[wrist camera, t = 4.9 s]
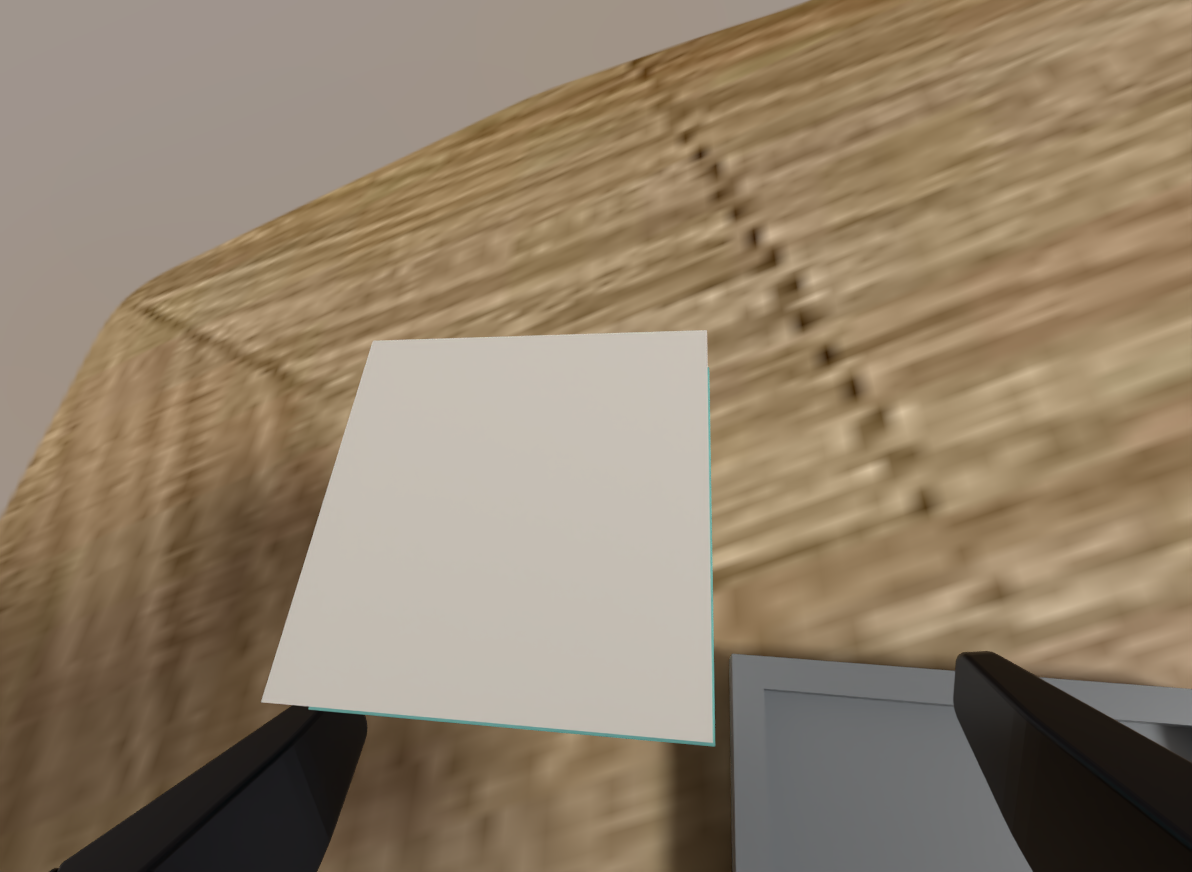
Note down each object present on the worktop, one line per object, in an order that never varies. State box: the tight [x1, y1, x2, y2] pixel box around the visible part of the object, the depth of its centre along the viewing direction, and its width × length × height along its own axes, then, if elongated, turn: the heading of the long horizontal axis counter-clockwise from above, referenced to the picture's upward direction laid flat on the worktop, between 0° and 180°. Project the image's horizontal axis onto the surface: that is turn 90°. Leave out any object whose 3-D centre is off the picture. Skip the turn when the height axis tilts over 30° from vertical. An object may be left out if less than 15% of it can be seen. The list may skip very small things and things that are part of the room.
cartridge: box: [261, 330, 715, 747], centre depth 12 cm, size 5×5×12 cm
